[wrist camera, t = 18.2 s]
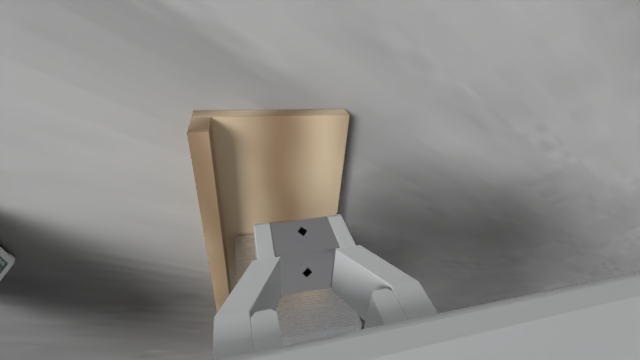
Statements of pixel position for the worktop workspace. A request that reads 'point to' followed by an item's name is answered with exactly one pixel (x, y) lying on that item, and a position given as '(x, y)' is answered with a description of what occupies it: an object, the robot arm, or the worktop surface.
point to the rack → (262, 175)
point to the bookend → (302, 305)
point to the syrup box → (5, 262)
